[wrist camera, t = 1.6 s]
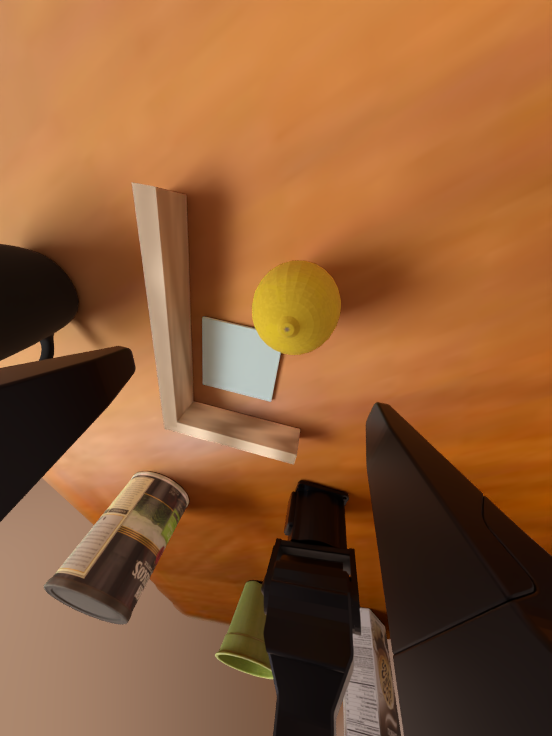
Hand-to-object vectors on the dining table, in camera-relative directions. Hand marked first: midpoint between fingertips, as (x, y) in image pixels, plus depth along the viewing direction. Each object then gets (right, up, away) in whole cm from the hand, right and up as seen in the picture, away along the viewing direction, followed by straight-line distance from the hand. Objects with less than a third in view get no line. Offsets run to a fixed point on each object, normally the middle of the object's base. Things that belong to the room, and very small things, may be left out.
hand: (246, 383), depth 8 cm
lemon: (+3, +6, +10) cm, 13 cm away
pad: (-2, +1, +14) cm, 15 cm away
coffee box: (+19, -52, +41) cm, 69 cm away
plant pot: (-2, -48, +44) cm, 65 cm away
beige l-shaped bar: (-2, +3, +13) cm, 13 cm away
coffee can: (-18, -20, +30) cm, 41 cm away
